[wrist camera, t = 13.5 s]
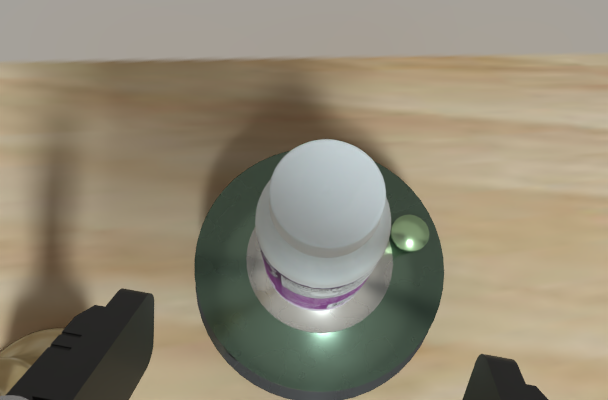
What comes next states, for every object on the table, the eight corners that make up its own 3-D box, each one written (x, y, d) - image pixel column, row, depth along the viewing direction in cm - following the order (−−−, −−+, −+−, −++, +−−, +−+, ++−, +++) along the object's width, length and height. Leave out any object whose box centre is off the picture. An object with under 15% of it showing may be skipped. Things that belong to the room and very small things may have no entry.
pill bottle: (269, 209, 26) (255, 114, 17) (368, 215, 26) (405, 122, 17) (260, 311, 24) (239, 262, 15) (367, 317, 24) (409, 272, 15)
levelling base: (227, 435, 26) (214, 442, 22) (179, 200, 31) (162, 170, 27) (469, 360, 28) (499, 354, 24) (387, 148, 33) (400, 113, 29)
